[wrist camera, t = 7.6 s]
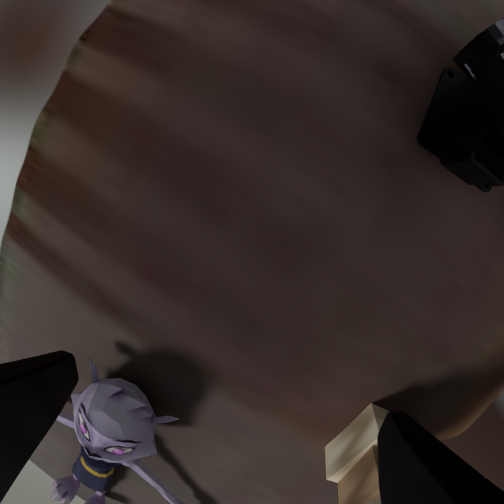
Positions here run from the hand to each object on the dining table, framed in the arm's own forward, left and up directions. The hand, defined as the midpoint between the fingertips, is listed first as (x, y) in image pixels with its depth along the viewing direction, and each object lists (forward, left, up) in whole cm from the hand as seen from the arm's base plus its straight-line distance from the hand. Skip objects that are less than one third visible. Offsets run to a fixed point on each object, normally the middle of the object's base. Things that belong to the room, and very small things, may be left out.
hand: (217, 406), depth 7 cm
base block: (+9, +15, -13) cm, 22 cm away
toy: (+27, -6, -14) cm, 31 cm away
